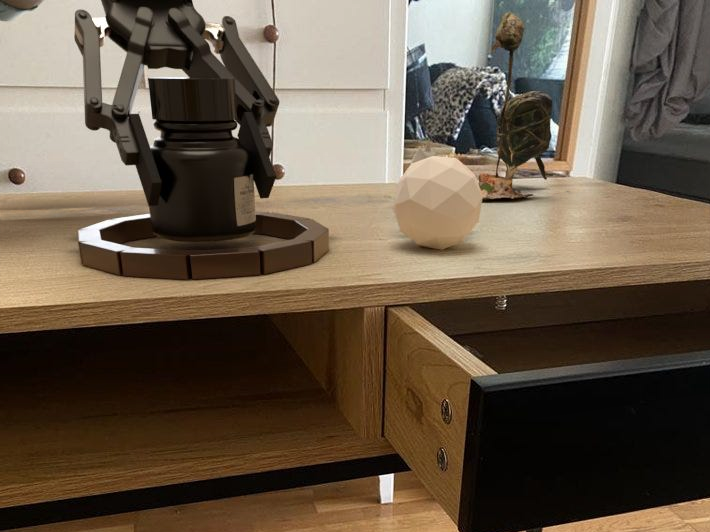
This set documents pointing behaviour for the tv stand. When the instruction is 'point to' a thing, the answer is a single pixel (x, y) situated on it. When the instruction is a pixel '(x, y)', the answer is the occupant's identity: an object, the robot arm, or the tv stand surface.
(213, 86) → the ink bottle
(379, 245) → the tv stand surface
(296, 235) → the walnut ring
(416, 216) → the geometric ball
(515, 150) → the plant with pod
